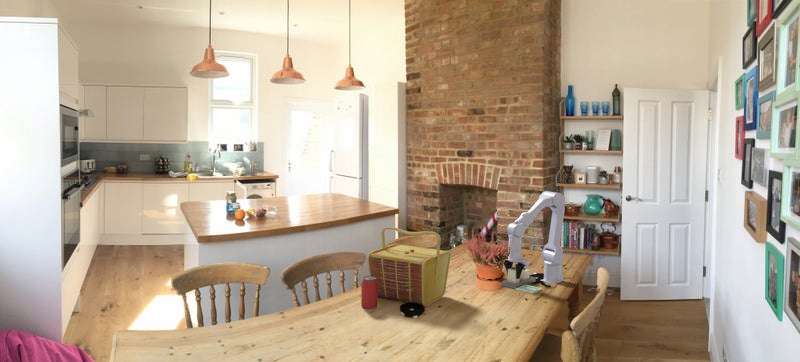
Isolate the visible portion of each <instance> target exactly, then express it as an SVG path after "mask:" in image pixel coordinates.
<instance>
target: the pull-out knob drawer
mask: <svg viewBox="0 0 800 362" xmlns="http://www.w3.org/2000/svg"><path fill="white" fill-rule="evenodd" d="M530 273H531V272H530V269H526V267H524V268H523V270H522V273H521V276H520V278H522V279H524V280H527V279H529V276H530Z"/></svg>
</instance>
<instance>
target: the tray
mask: <svg viewBox="0 0 800 362" xmlns="http://www.w3.org/2000/svg"><path fill="white" fill-rule="evenodd" d="M542 290H543V288H542V287H537V286H533V285H530V284H528V285H523V286H520V287H518V288H516V289H515V291H519V292H523V293H527V294H531V295H533V294H535V293H538V292H541V291H542Z"/></svg>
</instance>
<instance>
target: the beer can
mask: <svg viewBox="0 0 800 362" xmlns="http://www.w3.org/2000/svg"><path fill="white" fill-rule="evenodd" d="M360 285H361V289H360V290H361V297H360V298H361V300H360V302H361V307H362V308H364V309H367V310H371V309H375V308H377V307H378V296H377V294H378V283H377V280H376V277H373V276H370V275H367V276H364V277H362V280H361V284H360Z"/></svg>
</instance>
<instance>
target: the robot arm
mask: <svg viewBox="0 0 800 362" xmlns="http://www.w3.org/2000/svg"><path fill="white" fill-rule="evenodd" d="M565 200H566V198H565V196H564V195H563V194H562V193H561V192H555V191H549V190H544V191H543V192H542V193H541V194H540V195H539V196H538V199H537V201H536V202H535V203H534V204H533V205H532V206H531V208H530V209H529V210H528V211H525V212H524V211H523V212H521V214H520V216H519V217H518V218H517V219H515V221H514V222H511V223H509V224H508V226H507V228H506V230H505V231H506V233H507V235H508V248H509V247H510V254H509V256H508V255H507V256H508V259H507V260H504V261H503V262H502V263H503V265H504V268H505V270H506V274H507V276H508V269H510V268H512V267H513V266H514V265H513V264H514V263H515V266H514V267H516V279H519V278H520V276H521V273H522V270H523V268H526V267H525V266H529V265H530V260H528V259H524V258H523V257H521V256H522V237H523V236H524V234H525V231H526V229H527V228H528V227H529V226H530V224H532V223H533V222H534V217H535V216H536V215H537V214H538V213H540V212H541V211H543V209H544V208H547V207H548V208H550V210H551V212H552V213H551V221H550V226H549V227H550V228H549V232H548V233H549V234H548V242H547V243H546V244H545V245H543V250H542V252H541V258H542V260H543V263H544V265H543V266H544V268H543V270H544V271H543V272H544V273H543V279H540V281H542V282H546V283H551V284H554V285H555V284H559V283H561V282H564V281H565V279H563V272H564V269H563V267H564V266H563V265H562V263H563V262H564V259H565V258H564V257H565V255H564V249H563V247H562V246H561V239H562V238H561V237H562V231H563V224H564V217H565V212H566V211H565V210H566V207H565Z"/></svg>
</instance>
